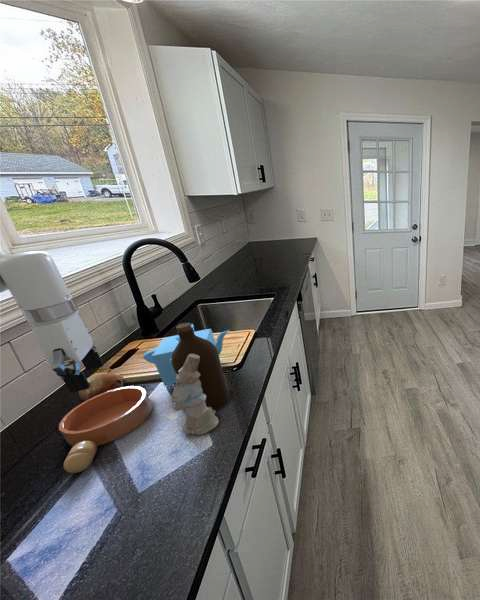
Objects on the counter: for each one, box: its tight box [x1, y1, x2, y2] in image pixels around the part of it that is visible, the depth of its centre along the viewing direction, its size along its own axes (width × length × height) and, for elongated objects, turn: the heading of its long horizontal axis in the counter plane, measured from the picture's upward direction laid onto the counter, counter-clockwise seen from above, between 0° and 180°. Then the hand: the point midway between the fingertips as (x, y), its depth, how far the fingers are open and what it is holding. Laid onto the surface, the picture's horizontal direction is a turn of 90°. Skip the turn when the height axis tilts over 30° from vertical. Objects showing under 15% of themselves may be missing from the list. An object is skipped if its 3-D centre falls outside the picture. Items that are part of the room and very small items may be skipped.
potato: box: [63, 441, 98, 474], centre depth 72 cm, size 8×5×5 cm, turn 28°
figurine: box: [170, 354, 220, 436], centre depth 78 cm, size 9×8×20 cm
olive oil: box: [171, 322, 231, 411], centre depth 85 cm, size 11×11×25 cm
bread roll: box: [78, 372, 126, 402], centre depth 97 cm, size 10×10×8 cm
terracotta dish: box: [58, 385, 153, 448], centre depth 84 cm, size 18×18×5 cm
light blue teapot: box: [142, 323, 231, 387], centre depth 101 cm, size 19×19×15 cm
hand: (88, 378), depth 72 cm, fingers open, 9 cm apart
